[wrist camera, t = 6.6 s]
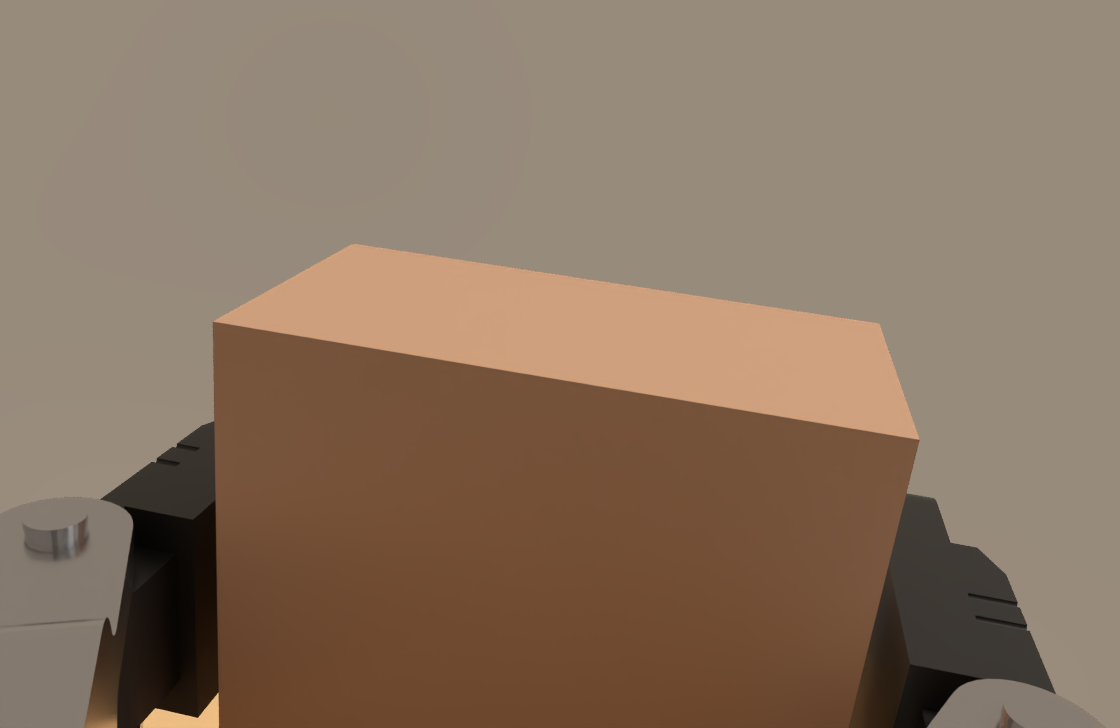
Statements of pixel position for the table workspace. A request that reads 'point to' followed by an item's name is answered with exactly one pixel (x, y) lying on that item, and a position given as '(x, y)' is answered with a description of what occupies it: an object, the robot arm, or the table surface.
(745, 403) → the stub
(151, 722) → the table surface
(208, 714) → the table surface
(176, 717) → the table surface
